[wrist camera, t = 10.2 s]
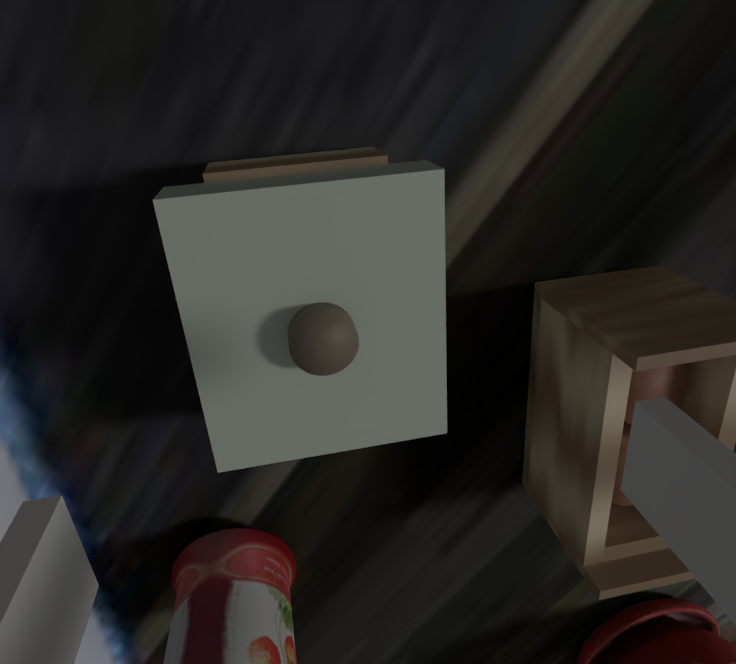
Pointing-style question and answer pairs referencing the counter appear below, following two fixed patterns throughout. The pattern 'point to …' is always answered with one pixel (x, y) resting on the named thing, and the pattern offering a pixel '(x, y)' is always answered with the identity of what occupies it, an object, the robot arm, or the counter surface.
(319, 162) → the stand
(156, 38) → the counter surface
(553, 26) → the counter surface
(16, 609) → the robot arm
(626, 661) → the plant pot
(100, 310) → the counter surface
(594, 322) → the wooden box
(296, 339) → the lid
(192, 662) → the liquor
